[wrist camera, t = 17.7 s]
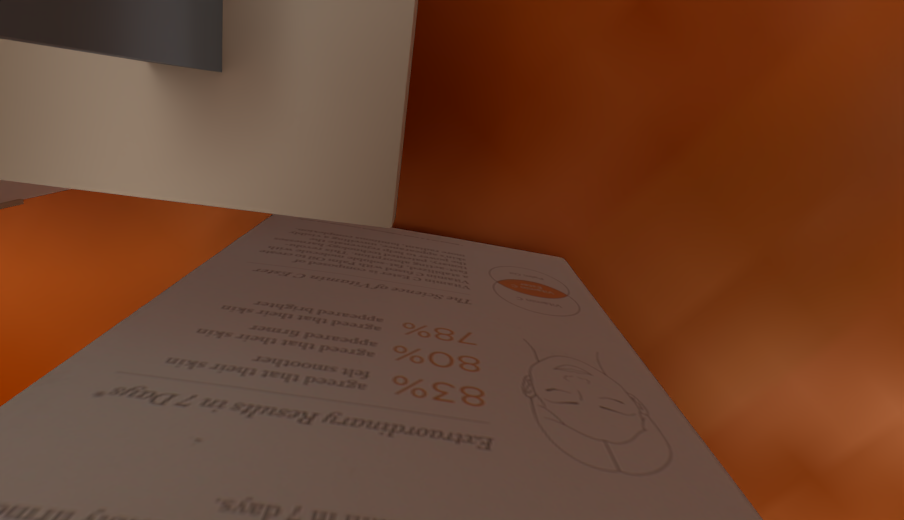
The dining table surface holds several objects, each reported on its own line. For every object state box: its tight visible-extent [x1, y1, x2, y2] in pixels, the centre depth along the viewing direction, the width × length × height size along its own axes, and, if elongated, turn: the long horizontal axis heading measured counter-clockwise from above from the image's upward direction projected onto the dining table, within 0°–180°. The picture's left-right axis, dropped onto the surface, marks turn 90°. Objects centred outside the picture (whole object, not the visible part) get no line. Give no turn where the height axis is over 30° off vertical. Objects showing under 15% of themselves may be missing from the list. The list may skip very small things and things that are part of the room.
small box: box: [0, 214, 763, 520], centre depth 9 cm, size 8×6×13 cm
